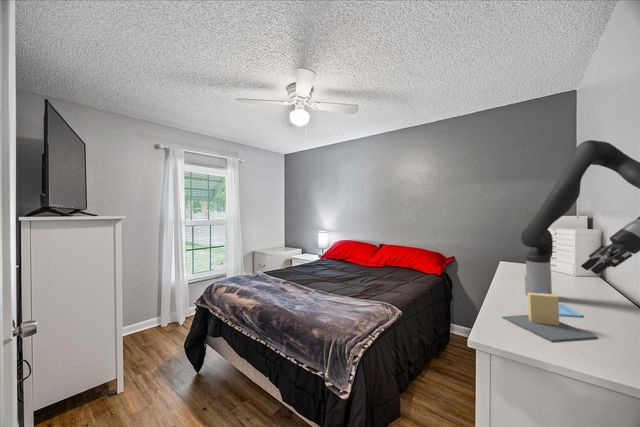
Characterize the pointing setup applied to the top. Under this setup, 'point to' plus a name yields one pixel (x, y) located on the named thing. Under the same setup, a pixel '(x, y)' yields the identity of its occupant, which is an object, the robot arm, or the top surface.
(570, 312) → the light blue flat slab
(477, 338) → the top surface
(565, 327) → the mat
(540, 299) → the yellow block
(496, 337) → the top surface
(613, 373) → the top surface
